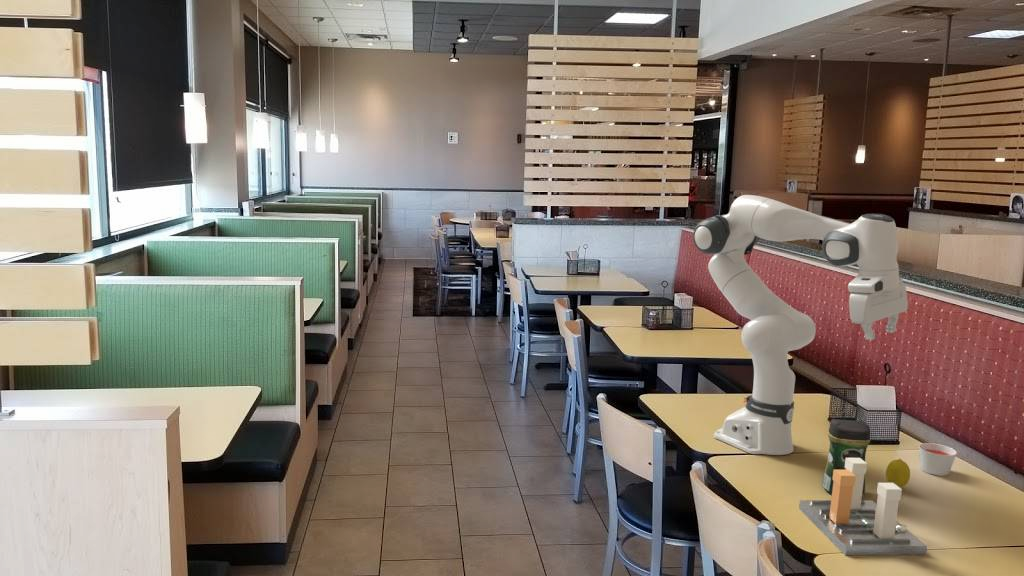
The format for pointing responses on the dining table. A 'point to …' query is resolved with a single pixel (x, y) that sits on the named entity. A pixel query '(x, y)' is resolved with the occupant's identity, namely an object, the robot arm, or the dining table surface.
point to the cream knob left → (858, 470)
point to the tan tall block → (841, 495)
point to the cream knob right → (886, 510)
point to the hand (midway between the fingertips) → (880, 335)
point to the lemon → (898, 473)
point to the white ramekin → (936, 458)
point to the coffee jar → (845, 447)
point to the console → (861, 531)
